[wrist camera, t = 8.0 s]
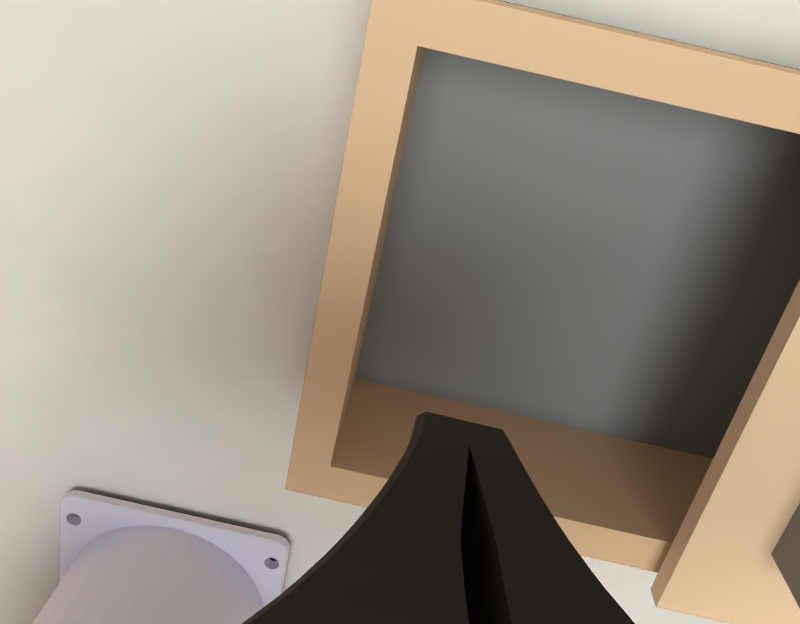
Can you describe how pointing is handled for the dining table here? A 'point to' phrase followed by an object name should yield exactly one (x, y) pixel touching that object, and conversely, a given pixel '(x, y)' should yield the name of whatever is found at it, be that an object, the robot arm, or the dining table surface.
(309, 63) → the dining table surface
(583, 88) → the box
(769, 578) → the lid
